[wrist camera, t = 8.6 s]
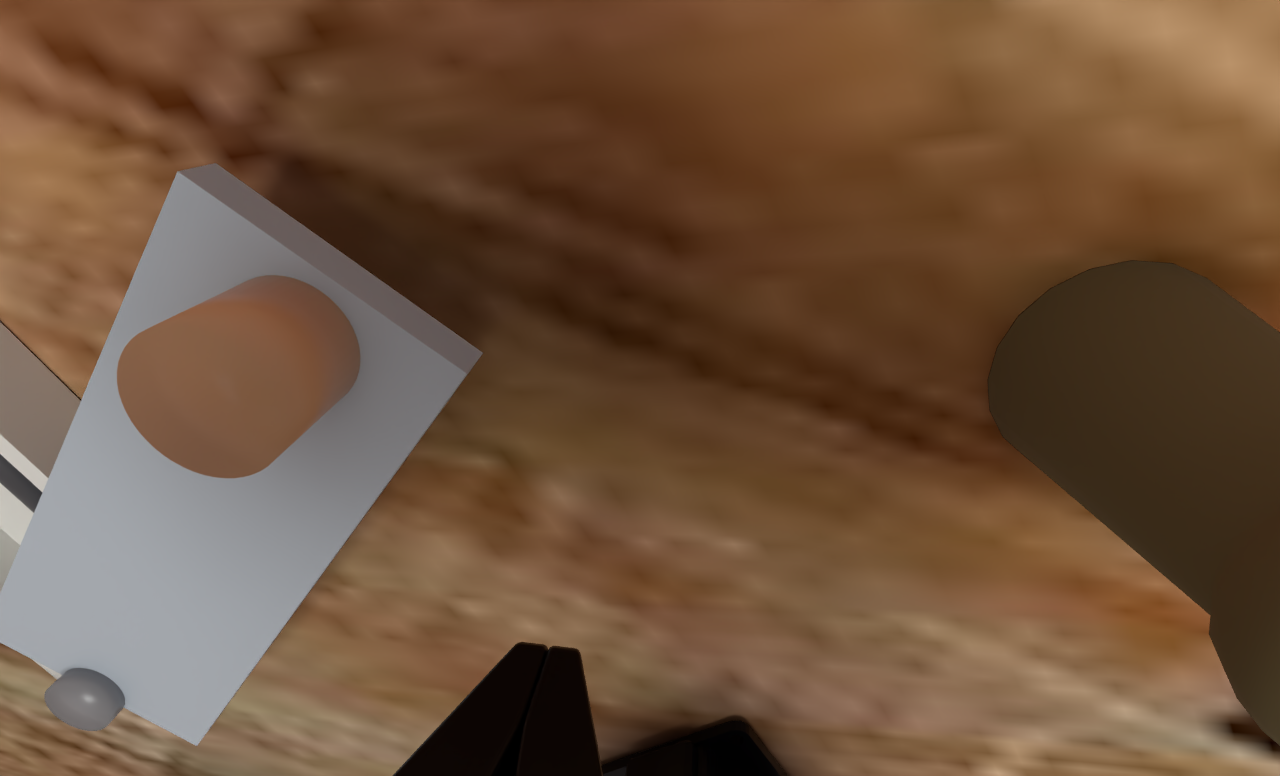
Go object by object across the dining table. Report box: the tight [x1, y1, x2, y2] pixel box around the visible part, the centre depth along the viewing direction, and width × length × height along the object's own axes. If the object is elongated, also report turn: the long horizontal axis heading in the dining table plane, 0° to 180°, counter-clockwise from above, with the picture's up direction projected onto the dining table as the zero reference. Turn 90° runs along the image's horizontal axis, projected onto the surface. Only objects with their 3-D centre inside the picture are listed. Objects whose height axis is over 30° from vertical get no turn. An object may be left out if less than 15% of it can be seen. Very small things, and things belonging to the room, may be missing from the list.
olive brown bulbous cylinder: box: [988, 261, 1280, 745], centre depth 13 cm, size 6×6×11 cm
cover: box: [0, 163, 483, 746], centre depth 17 cm, size 18×7×4 cm, turn 143°
